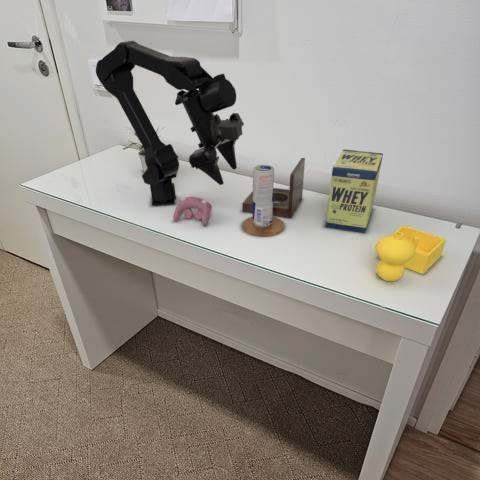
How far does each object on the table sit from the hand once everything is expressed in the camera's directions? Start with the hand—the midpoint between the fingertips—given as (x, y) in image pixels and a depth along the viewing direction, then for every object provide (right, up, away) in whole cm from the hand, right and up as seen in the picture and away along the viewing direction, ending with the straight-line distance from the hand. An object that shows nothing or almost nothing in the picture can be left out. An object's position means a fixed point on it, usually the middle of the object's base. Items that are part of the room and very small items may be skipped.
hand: (228, 176), depth 114 cm
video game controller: (-10, -10, +5) cm, 15 cm away
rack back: (+19, -6, +9) cm, 22 cm away
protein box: (+33, -10, +4) cm, 34 cm away
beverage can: (+9, -12, +1) cm, 15 cm away
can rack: (+12, -5, +11) cm, 17 cm away
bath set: (+39, -25, -15) cm, 49 cm away
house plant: (-28, +13, +34) cm, 46 cm away
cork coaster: (+9, -13, +1) cm, 16 cm away
